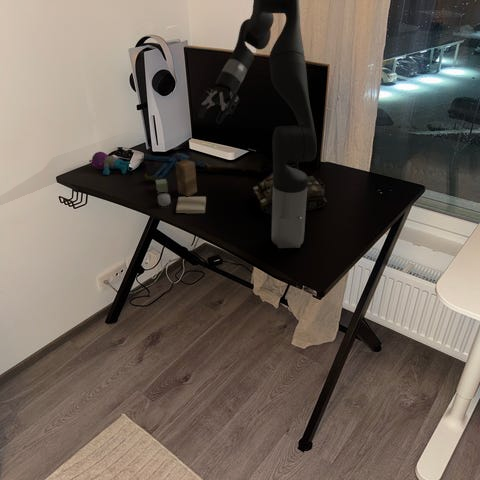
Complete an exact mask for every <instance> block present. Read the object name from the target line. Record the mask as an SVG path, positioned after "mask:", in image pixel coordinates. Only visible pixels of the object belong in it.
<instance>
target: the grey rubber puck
mask: <svg viewBox="0 0 480 480" xmlns="http://www.w3.org/2000/svg"><path fill="white" fill-rule="evenodd" d="M157 203H158V204H159V205H161V206H167V205H169V204H170V203H171V195H170V194H169V193H159V194H157ZM171 204H172V203H171ZM159 205H158V206H159Z"/></svg>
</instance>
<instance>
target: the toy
mask: <svg viewBox="0 0 480 480" xmlns="http://www.w3.org/2000/svg"><path fill="white" fill-rule="evenodd" d="M88 162H89V163H91V164H92V166H93V167H94V168H96V169H97V170H103V171H102V175H104V176H105V175H106V176H109V174H110V173H111V171H110V169H112V170H116V169H119V170H121V174H122V175H124V174H126V173H127V171H130V170H129V164H131V162H130V161H124V160H122V159H120V158H116V157H114V156H113V155H108V154H106V153H105V152H103V151H97V152H95V153H94V154H93V155H92V157H91V159H89V160H88Z"/></svg>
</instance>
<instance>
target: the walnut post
mask: <svg viewBox="0 0 480 480" xmlns="http://www.w3.org/2000/svg"><path fill="white" fill-rule="evenodd" d="M195 162H196V161H192V160H190V159H185V160H182V161H180V162H177V163H176V166H175V171H176V180H177V181H176V182H177V189H178V193H179V194H180V193H181V194H180V195H182V194H183V195H182V196H184V195H185V196H184V197H186V196H188V197H191V196H192V195H194V193H195V194H197V193H198V187H197V186H198V185H197V176H196V175H197V173H196V166H195ZM196 192H197V193H196Z"/></svg>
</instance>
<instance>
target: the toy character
mask: <svg viewBox="0 0 480 480" xmlns="http://www.w3.org/2000/svg"><path fill="white" fill-rule="evenodd" d="M143 155H144V158H143V159H144V160H146V161H154V160H155V161H161V162H163V161H164V163H163V164H161V167H159V169H158V170H157V171H156V172H155V173H153V174H152V175H151V176H150V175H148V174H147V173H144V174H143V176H144V178H145V180H146V182H152V181H153V183H156V180H161V179H163V178H164V179H165V177H166V176H167V175H168V173H169V172H170V170H171V169H172V168H176V163H177V162H180V161H182V160H185V159H187V160H189V158H190V155H187V154H186V153H183V152H182V153H181V152H176V153H174V154H173V155H172V156H156V155H152V154H149V153H144V154H143ZM194 162H195V167H197V166H201V167H212V166H211V164H209V163H207V162H205V161H204V162H203V161H201V162H198V161H194ZM201 167H200V168H201Z"/></svg>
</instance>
